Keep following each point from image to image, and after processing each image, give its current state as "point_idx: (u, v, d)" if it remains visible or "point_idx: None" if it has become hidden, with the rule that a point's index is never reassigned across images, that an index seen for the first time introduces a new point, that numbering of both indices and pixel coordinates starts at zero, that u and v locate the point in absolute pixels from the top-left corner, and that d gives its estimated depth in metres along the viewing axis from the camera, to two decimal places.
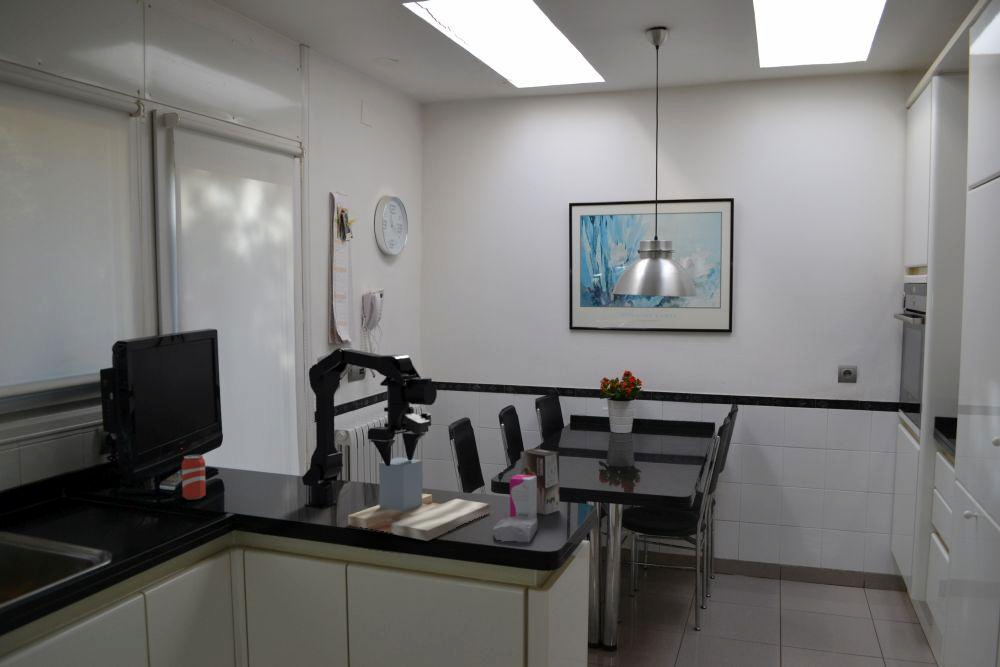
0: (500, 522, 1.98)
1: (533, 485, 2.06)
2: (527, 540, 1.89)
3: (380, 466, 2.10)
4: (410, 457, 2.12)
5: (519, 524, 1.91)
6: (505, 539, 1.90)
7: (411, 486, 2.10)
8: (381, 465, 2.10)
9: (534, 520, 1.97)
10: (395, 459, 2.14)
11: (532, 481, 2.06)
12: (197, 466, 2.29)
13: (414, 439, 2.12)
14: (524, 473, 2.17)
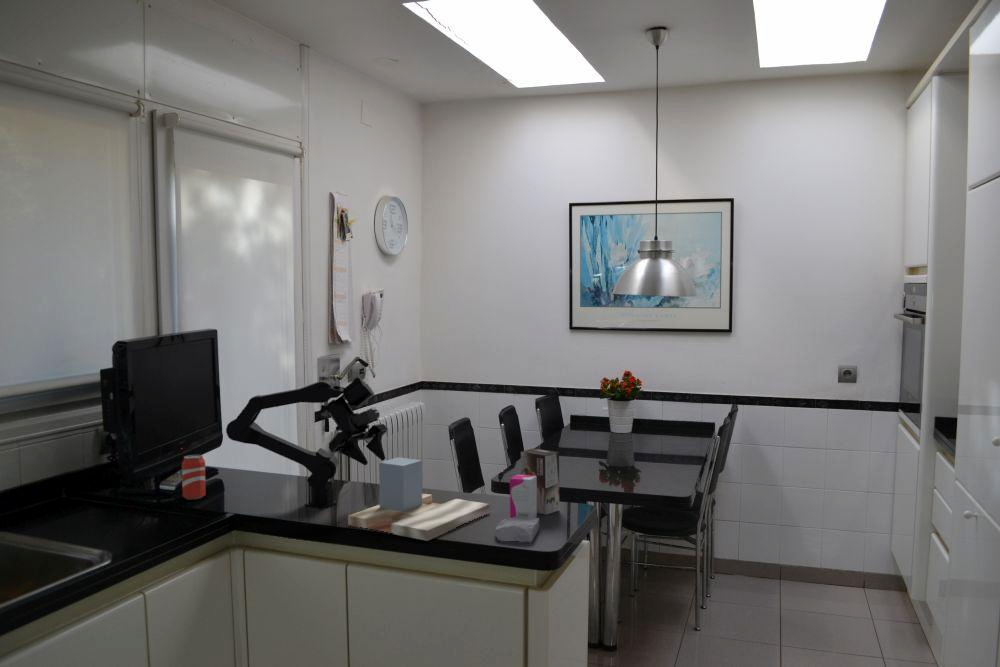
0: (502, 522, 1.98)
1: (533, 485, 2.06)
2: (529, 540, 1.89)
3: (380, 466, 2.10)
4: (382, 456, 2.19)
5: (521, 524, 1.91)
6: (507, 539, 1.90)
7: (411, 486, 2.10)
8: (381, 465, 2.10)
9: (536, 520, 1.97)
10: (395, 459, 2.14)
11: (532, 481, 2.06)
12: (197, 466, 2.29)
13: (376, 440, 2.21)
14: (524, 473, 2.17)
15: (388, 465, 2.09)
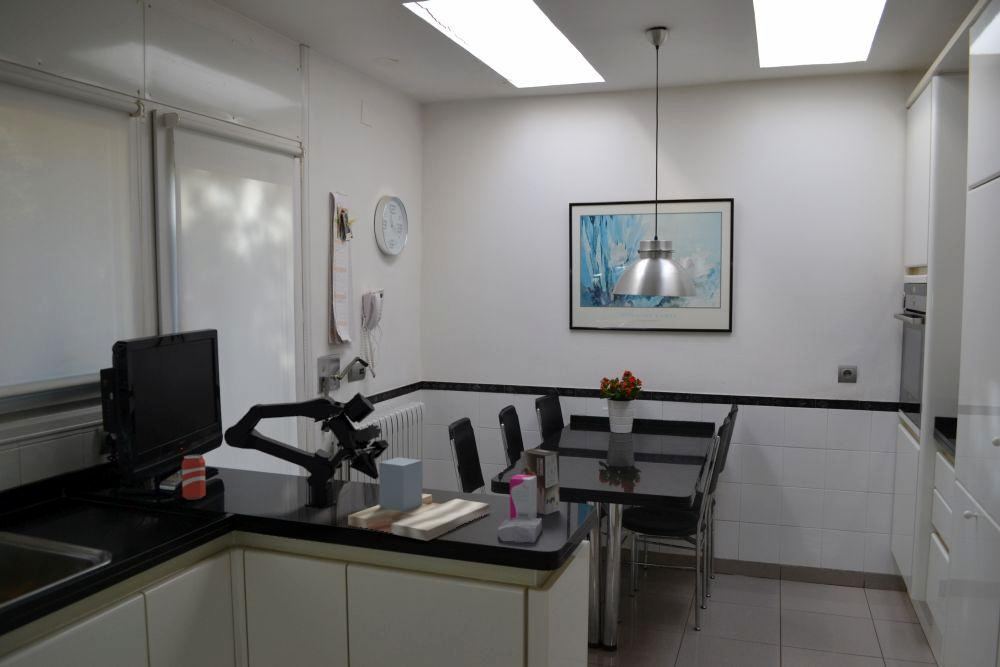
0: (504, 522, 1.98)
1: (533, 485, 2.06)
2: (532, 540, 1.89)
3: (380, 466, 2.10)
4: None
5: (524, 524, 1.91)
6: (510, 539, 1.90)
7: (411, 486, 2.10)
8: (381, 465, 2.10)
9: (538, 520, 1.97)
10: (395, 459, 2.14)
11: (532, 481, 2.06)
12: (197, 466, 2.29)
13: (369, 458, 2.18)
14: (524, 473, 2.17)
15: (388, 465, 2.09)
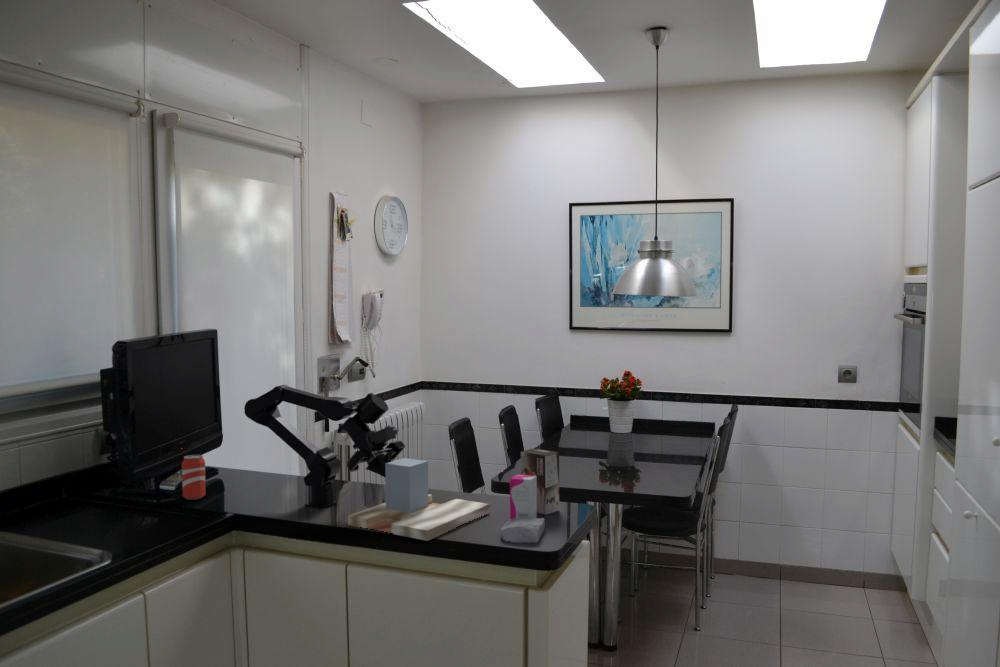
0: (507, 523, 1.98)
1: (533, 485, 2.06)
2: (535, 540, 1.89)
3: (386, 467, 2.09)
4: None
5: (527, 524, 1.90)
6: (513, 540, 1.90)
7: (417, 487, 2.09)
8: (387, 466, 2.09)
9: (541, 520, 1.97)
10: (401, 460, 2.13)
11: (532, 481, 2.06)
12: (197, 466, 2.29)
13: (386, 460, 2.15)
14: (524, 473, 2.17)
15: (394, 466, 2.08)
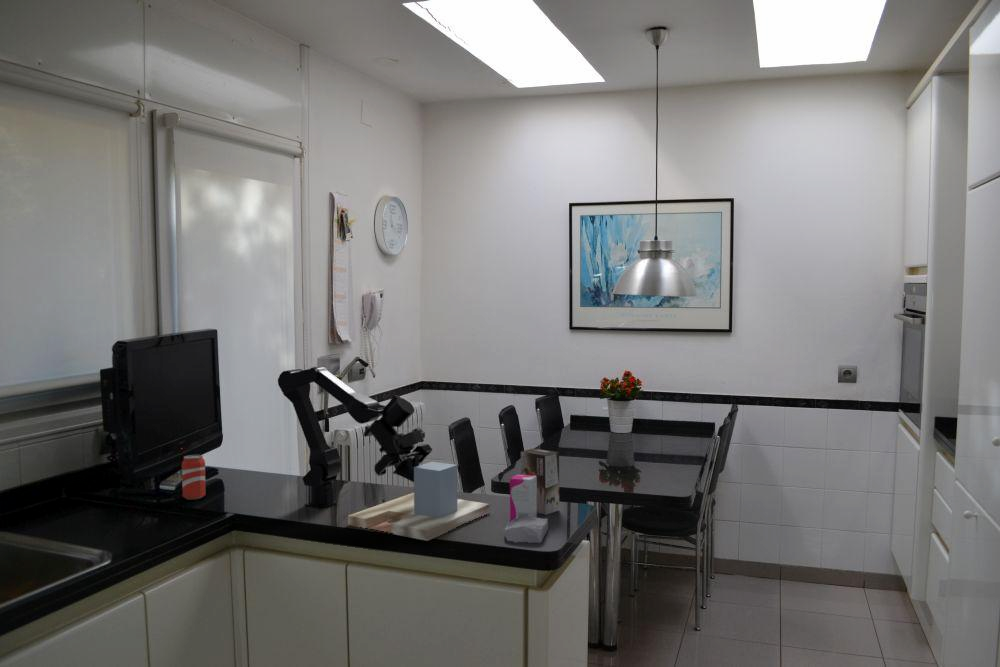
0: (511, 523, 1.97)
1: (533, 485, 2.06)
2: (538, 541, 1.89)
3: (415, 471, 2.05)
4: None
5: (531, 524, 1.90)
6: (516, 540, 1.90)
7: (447, 492, 2.04)
8: (416, 470, 2.04)
9: (545, 521, 1.97)
10: (429, 463, 2.09)
11: (532, 481, 2.06)
12: (197, 466, 2.29)
13: (414, 464, 2.10)
14: (524, 473, 2.17)
15: (423, 470, 2.03)
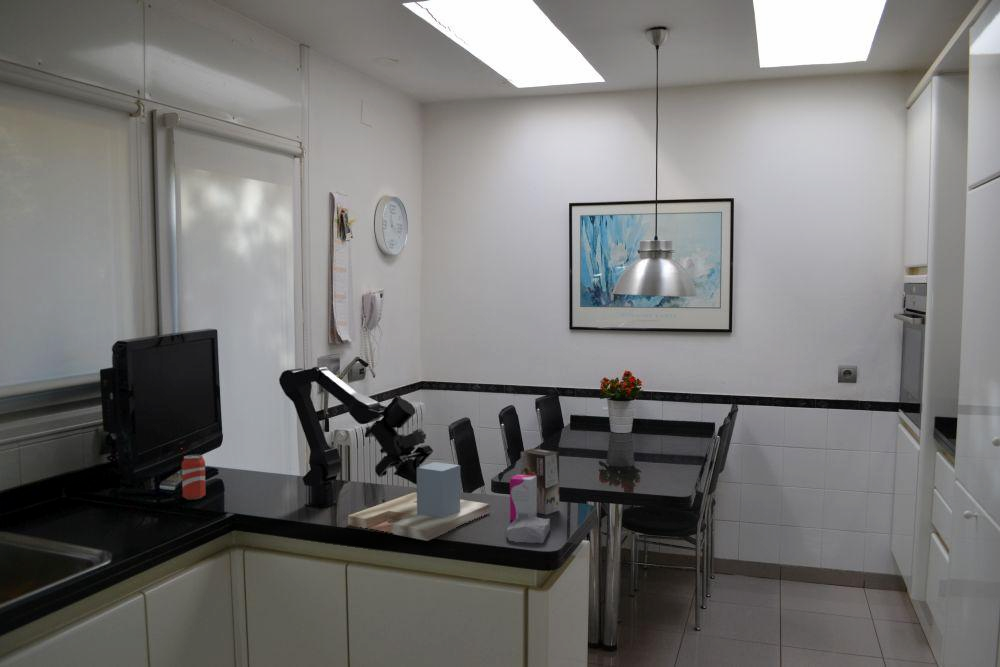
0: (513, 523, 1.97)
1: (533, 485, 2.06)
2: (541, 541, 1.89)
3: (418, 471, 2.04)
4: None
5: (533, 525, 1.90)
6: (518, 540, 1.90)
7: (450, 492, 2.03)
8: (418, 470, 2.04)
9: (547, 521, 1.97)
10: (432, 464, 2.08)
11: (532, 481, 2.06)
12: (197, 466, 2.29)
13: (414, 465, 2.10)
14: (524, 473, 2.17)
15: (426, 470, 2.03)
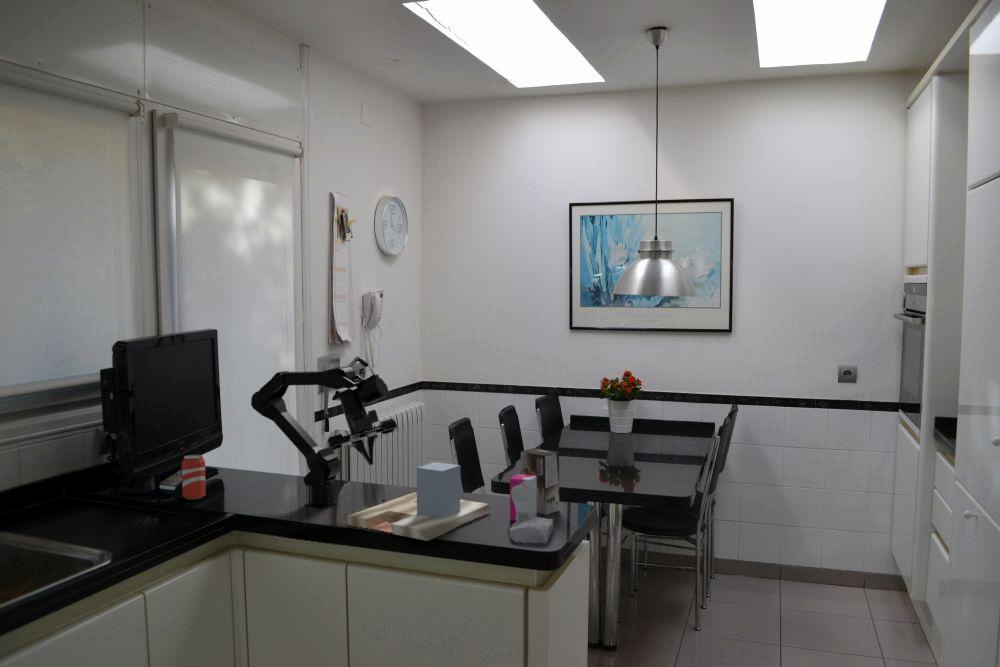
0: (516, 523, 1.97)
1: (533, 485, 2.06)
2: (544, 541, 1.89)
3: (418, 471, 2.04)
4: None
5: (536, 525, 1.90)
6: (522, 540, 1.89)
7: (450, 492, 2.03)
8: (418, 470, 2.04)
9: (550, 521, 1.97)
10: (432, 464, 2.08)
11: (532, 481, 2.06)
12: (197, 466, 2.29)
13: (367, 443, 2.15)
14: (524, 473, 2.17)
15: (426, 470, 2.03)
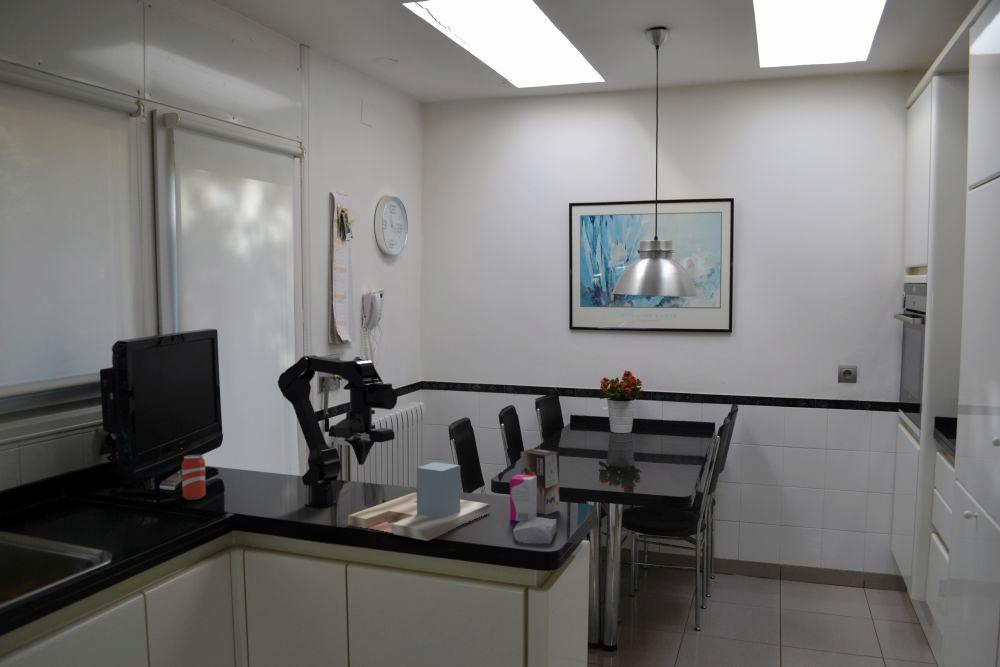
0: (519, 523, 1.97)
1: (533, 485, 2.06)
2: (548, 541, 1.88)
3: (418, 471, 2.04)
4: None
5: (540, 525, 1.90)
6: (526, 541, 1.89)
7: (450, 492, 2.03)
8: (418, 470, 2.04)
9: (553, 521, 1.96)
10: (432, 464, 2.08)
11: (532, 481, 2.06)
12: (197, 466, 2.29)
13: None
14: (524, 473, 2.17)
15: (426, 470, 2.03)
